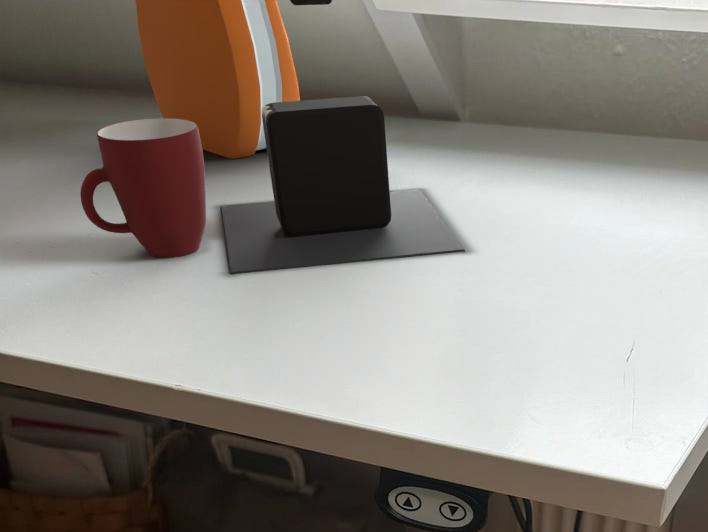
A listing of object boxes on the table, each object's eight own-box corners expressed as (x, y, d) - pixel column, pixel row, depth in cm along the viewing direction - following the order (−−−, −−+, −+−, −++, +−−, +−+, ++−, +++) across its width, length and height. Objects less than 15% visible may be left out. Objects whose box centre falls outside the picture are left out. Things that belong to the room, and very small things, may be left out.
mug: (116, 283, 78) (82, 150, 71) (87, 257, 83) (52, 131, 77) (235, 257, 82) (212, 130, 76) (201, 234, 87) (177, 114, 81)
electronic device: (392, 227, 86) (383, 103, 80) (283, 238, 84) (265, 113, 78) (383, 214, 89) (373, 95, 83) (277, 225, 87) (259, 103, 81)
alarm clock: (321, 149, 112) (294, -91, 97) (249, 165, 107) (210, -86, 92) (225, 121, 125) (188, -95, 110) (157, 134, 120) (109, -91, 105)
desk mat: (231, 279, 78) (230, 272, 78) (222, 212, 93) (221, 205, 93) (465, 256, 82) (465, 249, 81) (420, 195, 97) (419, 188, 96)
